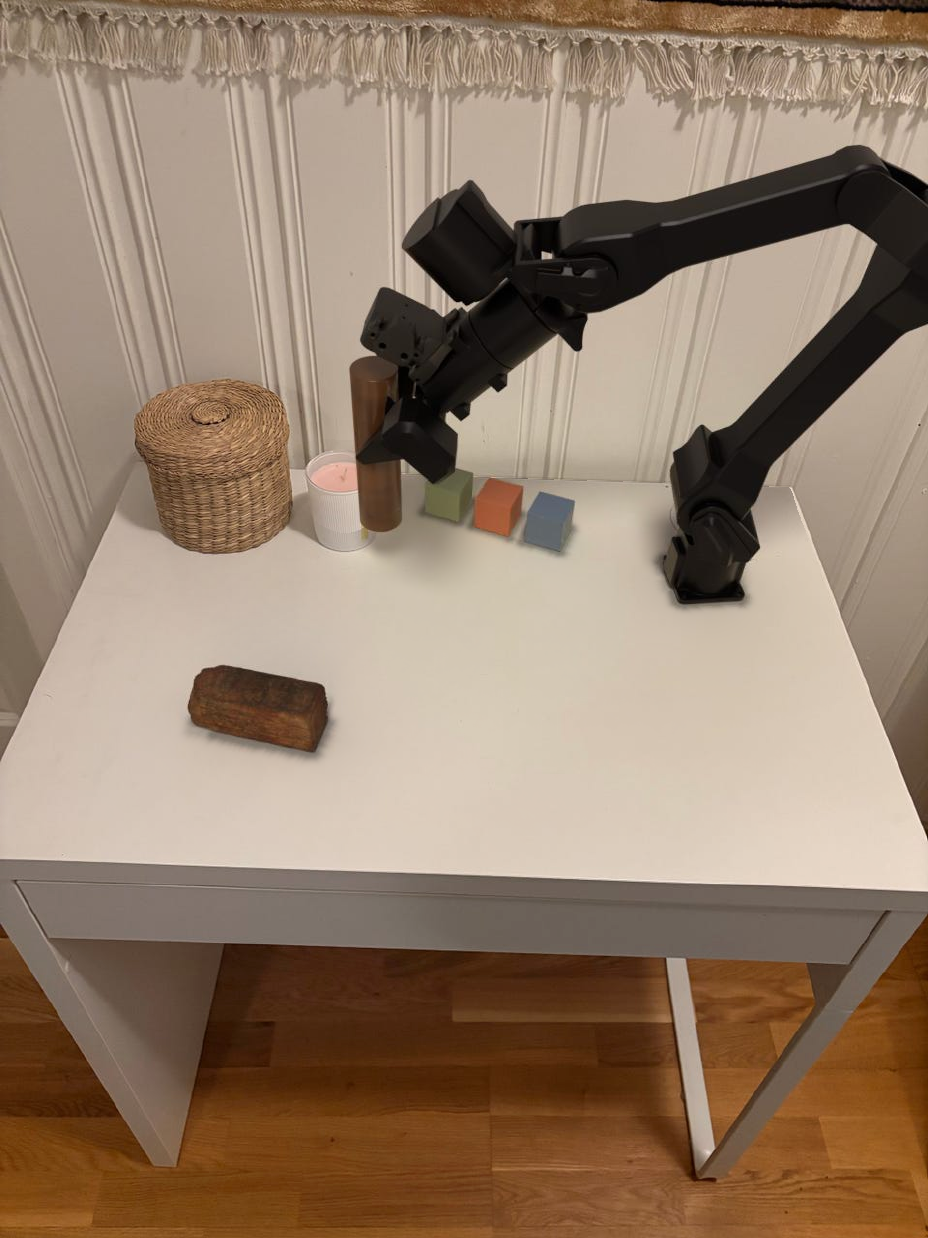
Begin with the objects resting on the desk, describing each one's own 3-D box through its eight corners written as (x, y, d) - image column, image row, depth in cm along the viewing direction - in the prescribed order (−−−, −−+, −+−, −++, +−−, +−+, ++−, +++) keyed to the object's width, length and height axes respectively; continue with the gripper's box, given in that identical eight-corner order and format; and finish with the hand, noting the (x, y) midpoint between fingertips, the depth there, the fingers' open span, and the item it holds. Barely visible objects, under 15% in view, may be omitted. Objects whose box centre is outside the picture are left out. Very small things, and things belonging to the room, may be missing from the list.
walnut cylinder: (404, 506, 89) (400, 356, 77) (399, 533, 86) (395, 382, 75) (362, 504, 89) (352, 353, 77) (357, 531, 86) (345, 379, 75)
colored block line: (571, 529, 95) (575, 500, 93) (559, 551, 93) (563, 522, 90) (439, 492, 99) (439, 463, 96) (424, 512, 97) (424, 483, 94)
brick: (330, 717, 78) (326, 681, 74) (314, 755, 75) (309, 719, 71) (212, 693, 79) (202, 656, 76) (192, 729, 76) (181, 692, 73)
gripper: (431, 213, 76) (310, 330, 84) (409, 326, 63) (268, 451, 71) (520, 308, 81) (399, 409, 90) (516, 430, 69) (374, 535, 77)
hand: (362, 445), depth 82 cm, fingers closed on walnut cylinder, 4 cm apart
